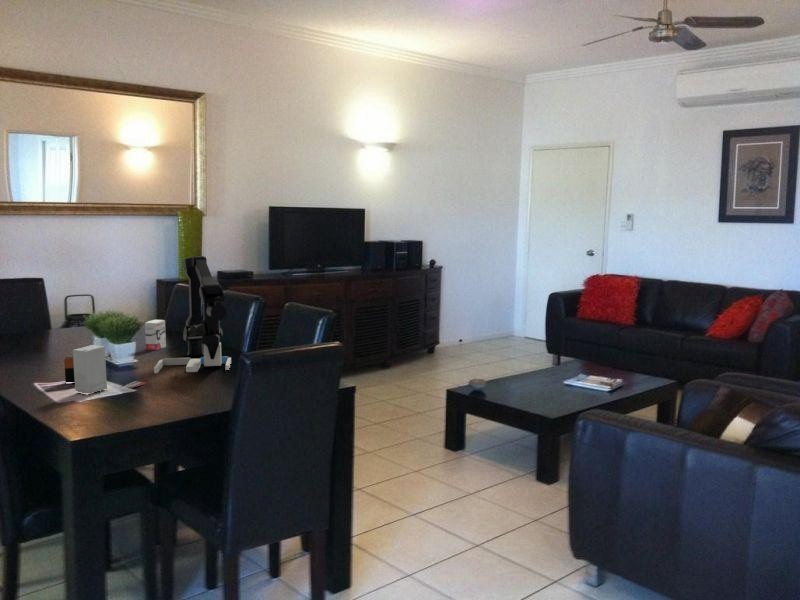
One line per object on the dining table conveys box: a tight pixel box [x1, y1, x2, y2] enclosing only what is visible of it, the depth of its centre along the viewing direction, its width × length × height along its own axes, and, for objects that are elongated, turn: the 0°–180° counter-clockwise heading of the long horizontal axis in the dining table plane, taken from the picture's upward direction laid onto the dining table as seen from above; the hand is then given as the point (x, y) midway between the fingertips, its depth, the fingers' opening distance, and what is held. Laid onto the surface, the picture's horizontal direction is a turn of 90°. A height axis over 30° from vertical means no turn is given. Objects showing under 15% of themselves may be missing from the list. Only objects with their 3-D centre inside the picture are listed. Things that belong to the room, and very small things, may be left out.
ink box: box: [144, 319, 167, 351], centre depth 307 cm, size 8×5×12 cm, turn 169°
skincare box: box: [72, 344, 108, 393], centre depth 235 cm, size 8×6×15 cm
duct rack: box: [153, 355, 232, 374], centre depth 271 cm, size 14×26×2 cm, turn 100°
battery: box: [63, 353, 75, 383], centre depth 248 cm, size 4×7×10 cm, turn 110°
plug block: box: [203, 341, 223, 367], centre depth 272 cm, size 4×6×8 cm, turn 100°
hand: (212, 357), depth 272 cm, fingers closed on plug block, 4 cm apart
